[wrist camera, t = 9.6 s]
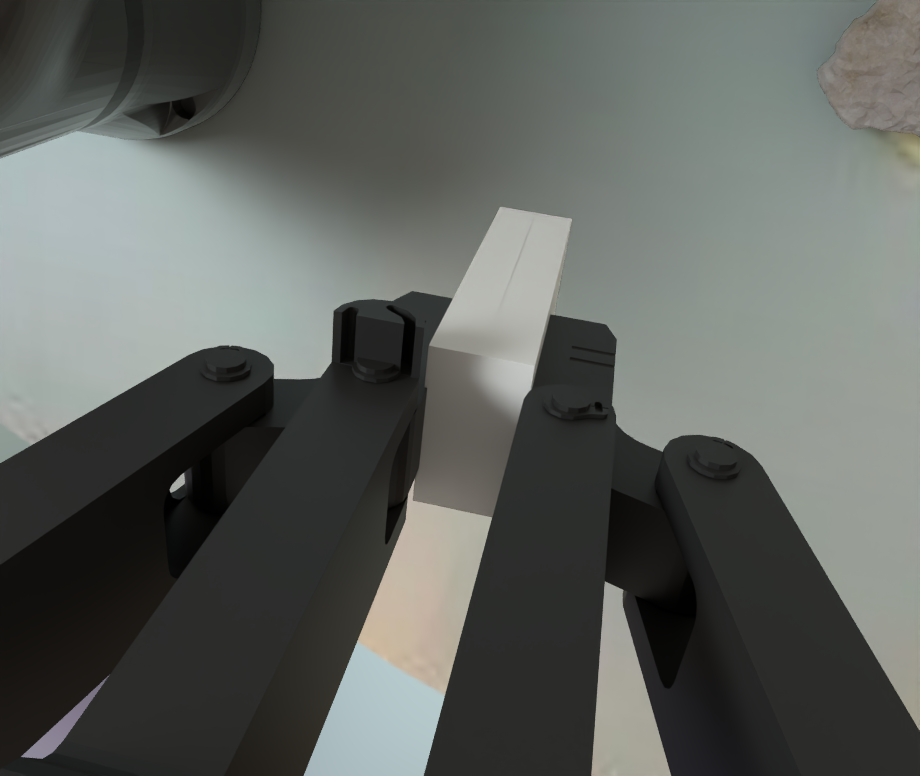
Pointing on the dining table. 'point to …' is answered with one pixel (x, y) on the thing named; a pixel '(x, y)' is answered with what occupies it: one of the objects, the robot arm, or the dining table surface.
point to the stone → (877, 69)
